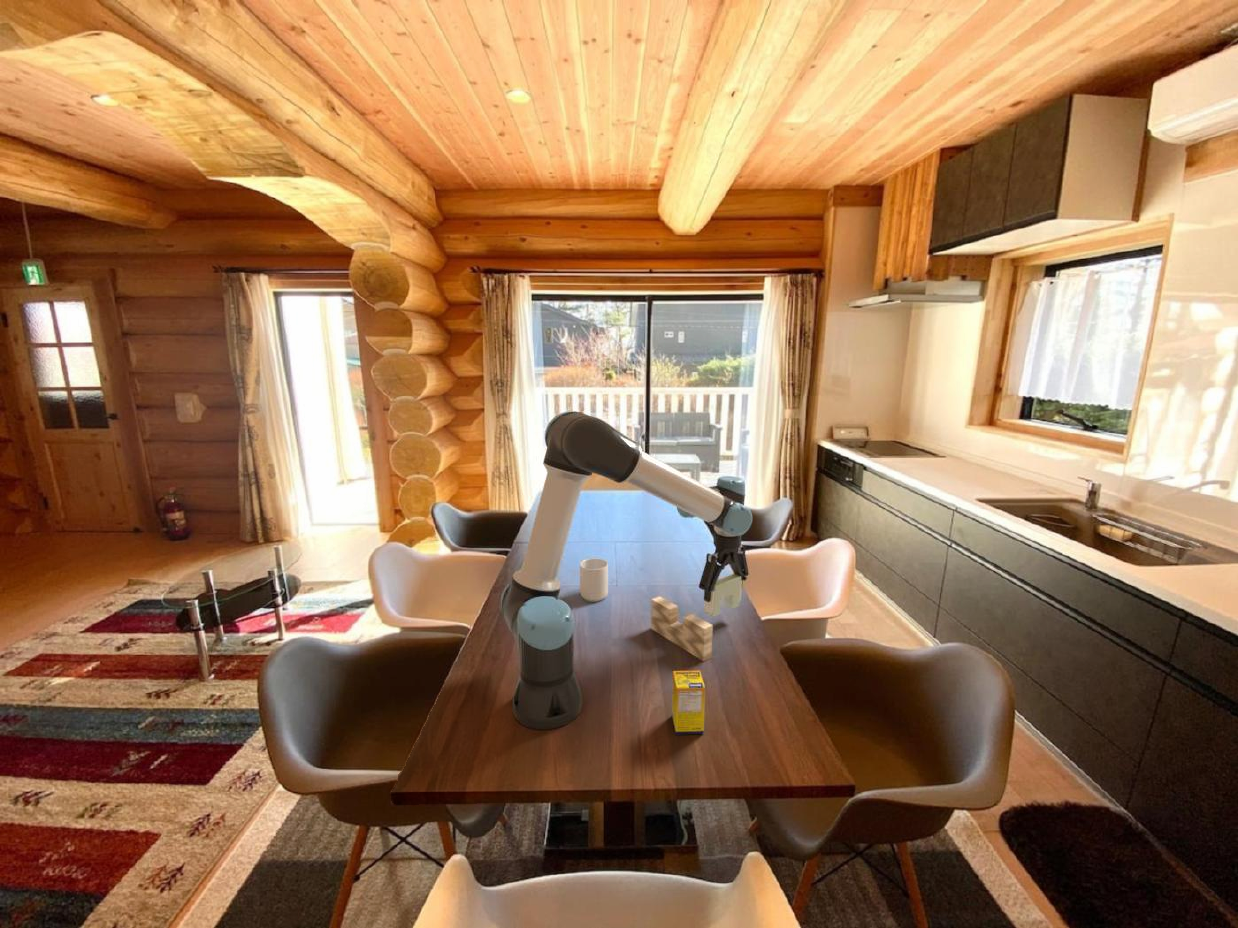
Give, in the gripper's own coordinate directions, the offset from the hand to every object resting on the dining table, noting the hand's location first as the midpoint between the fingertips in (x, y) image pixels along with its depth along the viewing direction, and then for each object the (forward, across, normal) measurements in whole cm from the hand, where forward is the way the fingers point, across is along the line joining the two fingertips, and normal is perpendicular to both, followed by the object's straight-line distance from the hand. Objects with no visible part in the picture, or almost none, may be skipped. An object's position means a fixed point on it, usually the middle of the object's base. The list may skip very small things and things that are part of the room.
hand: (722, 605), depth 147 cm
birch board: (+6, -16, +1) cm, 17 cm away
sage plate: (+1, 0, 0) cm, 1 cm away
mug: (+7, -18, +38) cm, 42 cm away
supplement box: (+7, -37, -23) cm, 44 cm away
